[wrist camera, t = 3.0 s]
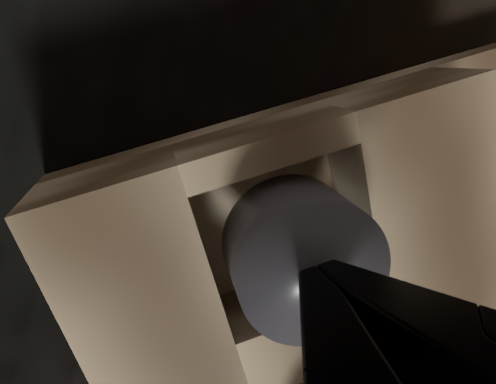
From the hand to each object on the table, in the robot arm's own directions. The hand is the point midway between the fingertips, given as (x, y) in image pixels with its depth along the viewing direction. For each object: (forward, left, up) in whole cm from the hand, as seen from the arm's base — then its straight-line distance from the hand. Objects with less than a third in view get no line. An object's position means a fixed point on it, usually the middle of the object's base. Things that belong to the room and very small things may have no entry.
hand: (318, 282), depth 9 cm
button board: (+2, -6, -5) cm, 8 cm away
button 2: (0, 0, -2) cm, 2 cm away
